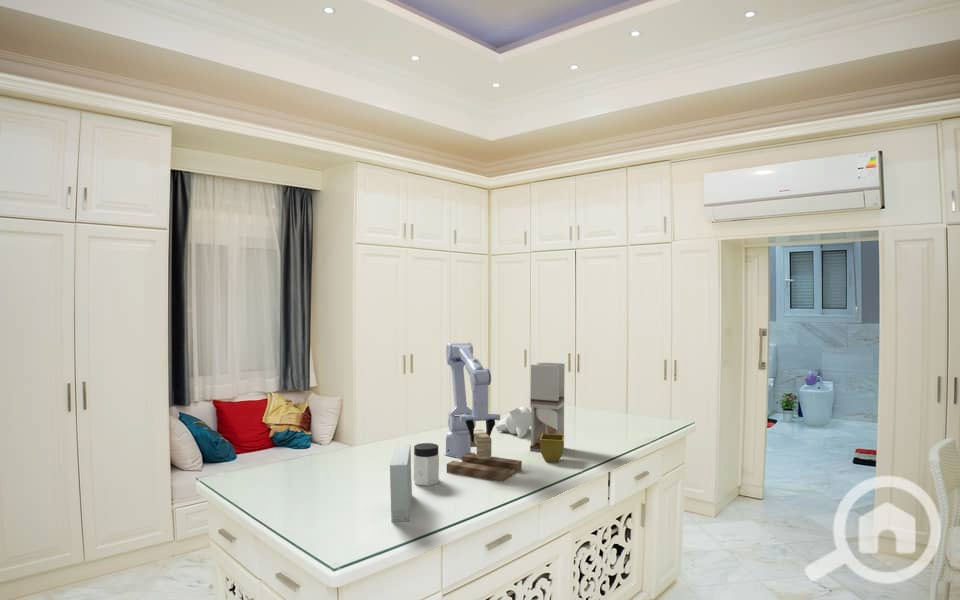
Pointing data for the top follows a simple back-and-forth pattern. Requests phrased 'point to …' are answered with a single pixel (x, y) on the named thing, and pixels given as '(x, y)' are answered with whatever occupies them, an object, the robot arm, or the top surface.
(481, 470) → the board
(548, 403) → the grey dispenser tower
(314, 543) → the top surface
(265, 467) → the top surface
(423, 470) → the jar
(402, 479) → the skincare box
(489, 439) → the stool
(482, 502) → the top surface
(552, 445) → the flower pot
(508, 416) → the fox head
